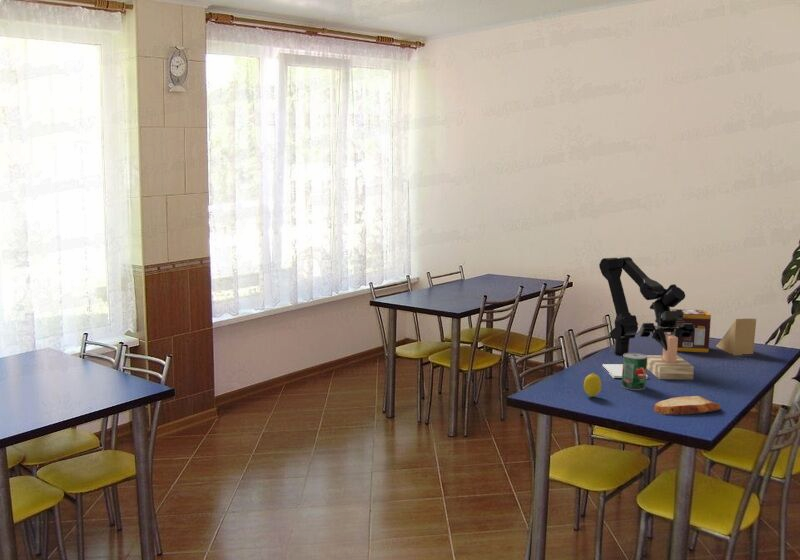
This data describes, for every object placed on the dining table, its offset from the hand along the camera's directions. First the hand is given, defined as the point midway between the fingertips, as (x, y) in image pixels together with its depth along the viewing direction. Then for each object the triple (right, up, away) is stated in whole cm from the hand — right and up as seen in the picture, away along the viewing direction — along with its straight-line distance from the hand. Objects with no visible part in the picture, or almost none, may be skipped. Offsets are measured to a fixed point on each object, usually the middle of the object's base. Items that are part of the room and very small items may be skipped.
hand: (671, 349), depth 281 cm
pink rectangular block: (0, -4, +2) cm, 5 cm away
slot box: (0, -9, +3) cm, 9 cm away
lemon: (-35, -13, -27) cm, 46 cm away
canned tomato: (-18, -11, -15) cm, 26 cm away
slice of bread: (-9, -16, -39) cm, 42 cm away
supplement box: (+20, -3, +40) cm, 45 cm away
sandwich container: (+39, -4, +38) cm, 54 cm away
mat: (-16, -8, +3) cm, 18 cm away
